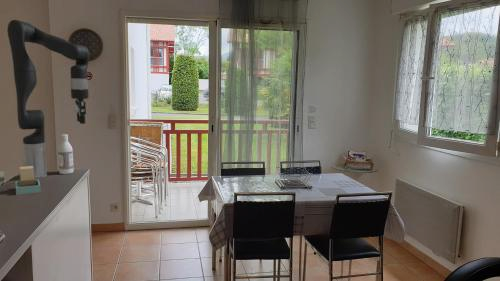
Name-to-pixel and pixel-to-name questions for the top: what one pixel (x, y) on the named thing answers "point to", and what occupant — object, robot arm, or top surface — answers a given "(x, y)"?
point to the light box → (27, 173)
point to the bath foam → (65, 156)
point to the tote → (28, 188)
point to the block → (27, 182)
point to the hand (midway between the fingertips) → (81, 122)
